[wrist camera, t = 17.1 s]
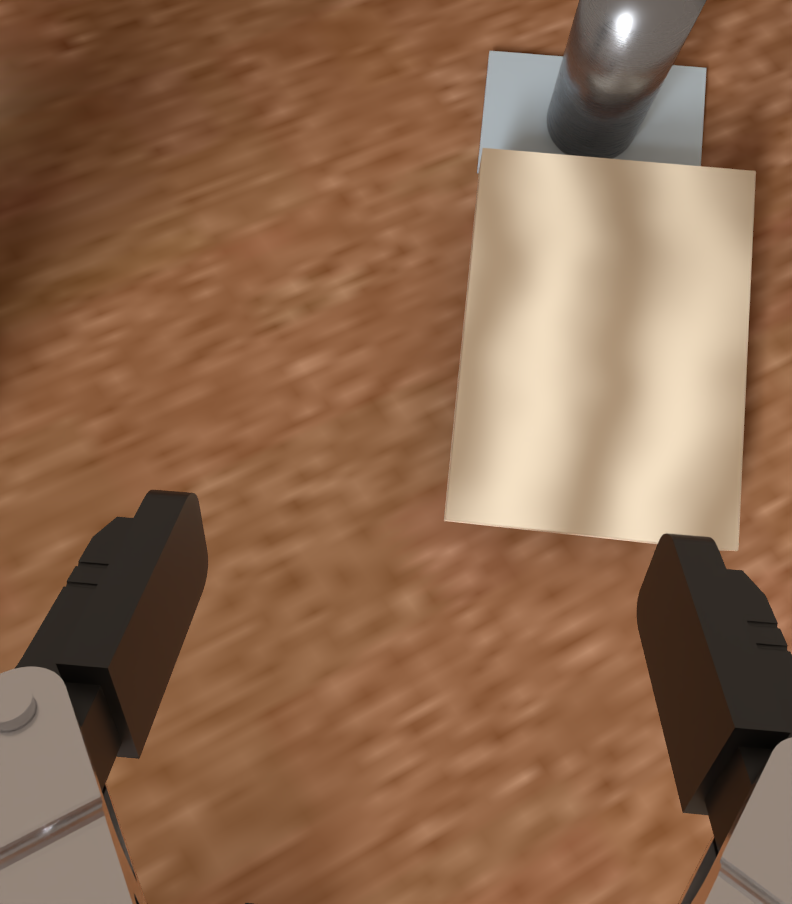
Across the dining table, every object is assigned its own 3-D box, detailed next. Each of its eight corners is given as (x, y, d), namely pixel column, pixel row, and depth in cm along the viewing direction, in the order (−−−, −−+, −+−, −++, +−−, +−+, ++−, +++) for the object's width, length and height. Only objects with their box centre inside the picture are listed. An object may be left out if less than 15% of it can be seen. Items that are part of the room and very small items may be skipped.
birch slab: (441, 522, 37) (445, 519, 32) (474, 198, 39) (482, 147, 34) (694, 550, 36) (738, 550, 31) (712, 219, 39) (755, 171, 34)
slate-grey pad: (477, 173, 39) (477, 167, 39) (488, 57, 40) (489, 50, 40) (695, 191, 39) (699, 186, 38) (702, 75, 40) (706, 67, 39)
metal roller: (542, 157, 39) (582, 26, 29) (551, 73, 39) (594, -84, 29) (634, 167, 38) (706, 37, 29) (642, 82, 39) (716, -74, 29)
